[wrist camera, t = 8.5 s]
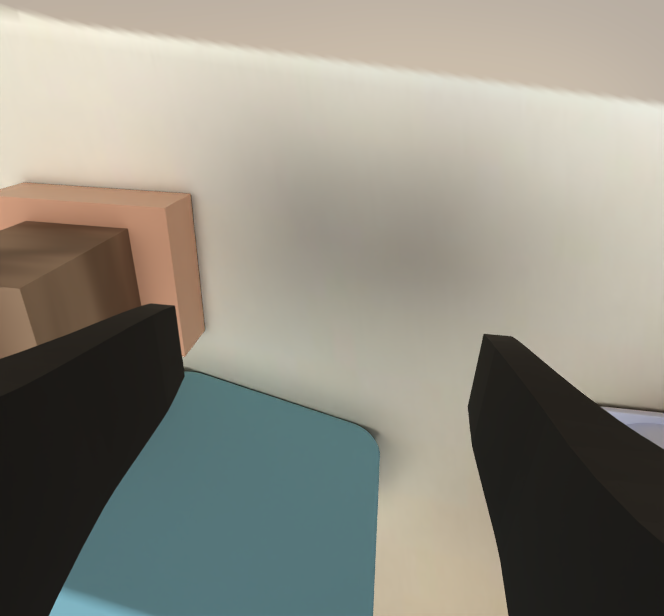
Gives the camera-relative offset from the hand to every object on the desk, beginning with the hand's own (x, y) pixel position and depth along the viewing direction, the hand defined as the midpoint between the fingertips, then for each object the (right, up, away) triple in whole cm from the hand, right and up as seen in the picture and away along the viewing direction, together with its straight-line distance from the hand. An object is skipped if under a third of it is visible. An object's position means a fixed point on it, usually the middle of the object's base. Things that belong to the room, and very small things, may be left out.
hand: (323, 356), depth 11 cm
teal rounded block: (-3, -6, +15) cm, 17 cm away
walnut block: (-11, +3, +9) cm, 14 cm away
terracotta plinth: (-10, +3, +11) cm, 16 cm away
